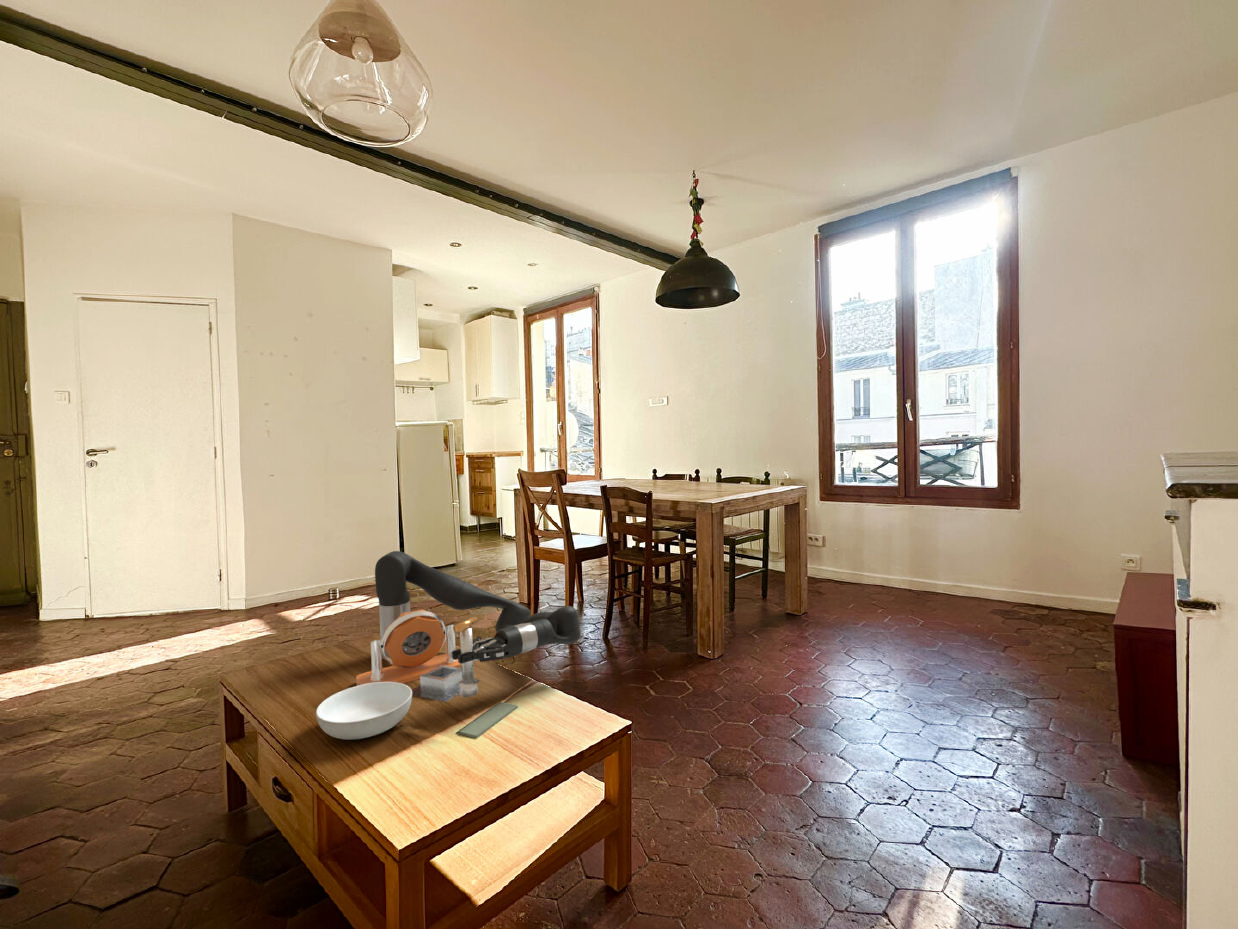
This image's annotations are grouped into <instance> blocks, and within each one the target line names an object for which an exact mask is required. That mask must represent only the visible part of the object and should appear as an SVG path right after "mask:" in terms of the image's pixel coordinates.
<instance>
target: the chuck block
mask: <svg viewBox="0 0 1238 929" xmlns="http://www.w3.org/2000/svg"><path fill="white" fill-rule="evenodd" d="M461 680H462V670H461V668H458V667H452V666H446V665H440V666H439V667H437V668H435V669H433V670H431V671H429V672H427V673H425V674H423V675H421V676H420V679H419V681H420V685H418V686H416V687H414V688H412V689H411V690H412V696H415V697H420V698H423V699H430V700H433V701H438V702H442V703H447V702H448V701H450V700H452V699H454V698H455V697H457V696H458V695H460V690H459V682H460V681H461ZM479 682H481V680H478V679H477V684H478V683H479Z"/></svg>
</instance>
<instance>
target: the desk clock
mask: <svg viewBox="0 0 1238 929" xmlns="http://www.w3.org/2000/svg"><path fill="white" fill-rule="evenodd" d="M441 625H442V626H441ZM454 625H455V624H450V625H447V626H445V623H444V621H443V620H442V618H441V617H440V616H439V615H438V614H436V613H435V612H434V613H433V612H431V611H427V610H426V609H418V610H413V611H410V612H404V613H402V614H400V615H399V617H398V618H397V619H396V620H395V621H394V622H393V623H392V624H390V625H389V626H388V627H387V628H386V630H385V634H384V635H383V638H382V641H381V639H376V640H373V641H371V642H370V658H371V660H370V661H371V664H370V665H371V670H370V671H365V672H363V673H360V674H358V675H356V677H355V679H356V680H355V681H356V686H359V685H363V684H368V683H375V682H397V683H402V684H406V683H410V682H414V681H418V680H420V676H421V675H423V674H425V673H427V672H429V671H431V670H433V669H435V668H437V667H439V666H440V665H446V666H452V667H458V668H461V664H460V663H459V662H458V659H456V660H454V659H452V651H453V650H456V633H455V632H454V631H453V626H454ZM444 644H445V653H442V654H439V653H440V651H441V649H442V648H443V646H444ZM384 648H385V650H386V652H387V653H388V655H389V656H390V658H391V659H389V658H388V657H387V656H386V655H385V653H384ZM381 649H382V651H381ZM382 653H383V655H384V657H385V659H386V660H385V659H384V660H385V661H386V662H388V663H389V664H390V666H387V667H383V659H382ZM437 654H438V655H437Z"/></svg>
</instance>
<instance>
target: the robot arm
mask: <svg viewBox="0 0 1238 929" xmlns="http://www.w3.org/2000/svg"><path fill="white" fill-rule="evenodd" d="M374 581H375V591H376V592H375V593H376V597H377V598H378V609H379V630H380V631H379V632H380V633H379V634H380V635H379V636H380V640H381V641H382V638H383V635H384V634H385V630H386V628H387V627H388V626H389V625H390V624H392V623H393V622H394V621H395V620H396V619H397V618H398V617H399V615H400V614H402V613H404V612H411V596H410V595H411V594H410V592H409V591H408V589H407V583H410V584H413V585H415V586H417V587H418V588H421V589H422V590H423V591H424V592H426V593H427V594H428V595H429V596H430V597H431V598H433V599H434V600H435V601H437V602H438V603H441V605H444V606H447V607H449V608H452V609H454V610H456V611H465V610H473V609H477V608H487V607H489V608H490V607H492V608H497V609H501V612H500V614H499V616H498V618H497V621H496V624H495V626H494V628H495V632H496V633H495V635H494V636H493V637H486V638H484V639H482V636H477V637H475V638H472V639H473V651H469V652H466V653H462V654H461V648H458V649H455V650H453V651H452V659H454V660H456V659H458V662H459V663H460V664H462V663H465V662H469V661H472V660H473V661H474V662H476V661H479V662H480V663H484V662H485V663H486V662H490V661H491V662H492V661H499V660H503V659H509V658H511V657H515V656H518V655H522V654H524V653H528V652H530V651H532V650H534V649H537V648H541V647H544V646H548V645H557V644H558V645H572V644H575V643H577V642H578V641H579V640H580V638H581V627H580V626H581V625H580V621H579V614H578V611H577V609H576V608H575V607H573V606H571V605H565V606H561V607H559V608H557V609H555V610H554V611H540V612H536V613H534V614H533V615H531V614H532V611H531V610H530V609H529V608H528V607H527V606H525V605H523V604H521V603H518V602H515V601H513V600H511V599H508V598H505V597H502V596H500V595H496V594H494V593H491V592H489V591H486V590H484V589H483V588H480V587H478V586H476V585H474V584H472V583H469V582H467V581H465V580H463V579H461V578H458V577H456V576H453V575H451V574H449V573H447V572H444V571H442V570H439V569H437V568H434V567H432V566H430V565H427V564H425V563H423V562H421V561H420V560H418V559H416V558H415V557H413V556H411V555H409V554H408V553H405V552H403V551H401V550H400V551H398V550H394V551H391V552H387V553H386V554H384V555H383V556H381V557H380V558H379V559H378V560H377V562H376V564H375V568H374ZM381 651H382V649H381ZM384 653H385V655H386V656H387V657H388V658H389V659H391V658H390V656H389V655H388V653H387V652H386V650H385V648H384ZM382 660H385V661H387V660H386V659H385V657H384V655H383V653H382Z"/></svg>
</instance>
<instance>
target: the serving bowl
mask: <svg viewBox="0 0 1238 929" xmlns="http://www.w3.org/2000/svg"><path fill="white" fill-rule="evenodd" d="M412 698H413V695H412V689H411V687H410V686H408V685H407V684H406V683H397V682H375V683H368V684H363V685H359V686H357V685H356V686H353V687H348V688H346V689H342V690H341V691H339V692H336V693H334V694H332V695H330V696H328V697H327V698H326V699H324V700H323V701H322V702H321V703H320V704H319V705H318V706H317V708H316V710H315V716H316V721H317V723H318V725H319V727H320V729H322V731H324V732H323V733H326V734H327V735H328V736H330V737H332V738H336V739H338V740H339V739H341V740H348V741H349V740H361V739H365V738H366V739H367V738H371V737H374V736H377V735H379V734H383V733H384V732H386V731H388V730H390V729H392V728H393V727H395V726H396V725H398V724H399V723H400V722H401V721H402V720H403V719H404V717H405V716H406V714H407V713H408V711H409V709H410V707H411V704H412V701H413V699H412Z"/></svg>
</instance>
